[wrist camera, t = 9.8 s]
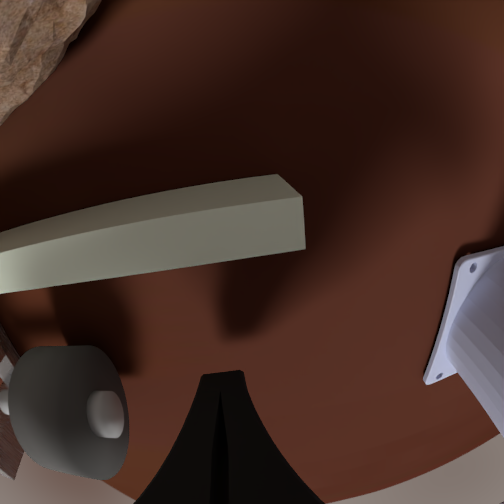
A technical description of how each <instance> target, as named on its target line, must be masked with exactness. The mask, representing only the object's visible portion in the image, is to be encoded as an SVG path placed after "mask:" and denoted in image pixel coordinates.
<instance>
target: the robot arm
mask: <svg viewBox="0 0 504 504" xmlns="http://www.w3.org/2000/svg"><path fill="white" fill-rule="evenodd" d="M457 372H458V373H459V375H460V376H461V377H462V379H463V380H464V381H465V383H466V384H467V385H468V387H469V388H470V390H471V391H472V392H473V394H474V395H475V396H476V398H477V399H478V401H479V402H480V404H481V405H482V406H483V408H484V409H485V411H486V412H487V414H488V415H489V417H490V418H491V419H492V421H493V422H494V424H495V425H496V427H497V428H498V430H499V432H500V433H501V435H502V436H503V438H504V246H501V247H498V248H494V249H490V250H486V251H482V252H478V253H474V254H470V255H466V256H463V257H461V258H460V259H459V260H458V261H457V262H456V264H455V267H454V272H453V277H452V282H451V287H450V291H449V295H448V300H447V304H446V308H445V311H444V315H443V319H442V322H441V326H440V329H439V333H438V336H437V339H436V343H435V346H434V349H433V352H432V355H431V358H430V361H429V363H428V366H427V369H426V372H425V374H424V377H423V380H424V382H425V383H426V384H427V385H429V384H432V383H434V382H437V381H439V380H441V379H444V378H446V377H448V376H450V375H452V374H455V373H457ZM134 504H325V503H324V502H323V501H321V500H320V499H319V498H318V496H317V495H316V494H315V493H314V492H313V491H312V490H311V489H310V488H309V487H308V486H307V485H306V484H305V483H304V482H303V480H302V479H301V478H300V477H299V476H298V475H297V473H296V472H295V471H294V470H293V468H292V467H291V466H290V465H289V463H288V462H287V461H286V459H285V458H284V457H283V455H282V454H281V452H280V451H279V450H278V448H277V447H276V445H275V444H274V442H273V440H272V439H271V437H270V436H269V434H268V432H267V431H266V429H265V427H264V425H263V423H262V421H261V420H260V418H259V416H258V414H257V412H256V410H255V408H254V405H253V403H252V401H251V398H250V396H249V393H248V390H247V386H246V381H245V377H244V372H243V371H241V370H236V371H228V372H220V373H211V374H203V375H202V376H201V379H200V383H199V386H198V389H197V392H196V395H195V398H194V401H193V403H192V406H191V408H190V411H189V413H188V415H187V418H186V420H185V422H184V425H183V427H182V429H181V431H180V433H179V435H178V437H177V439H176V441H175V443H174V445H173V447H172V449H171V451H170V453H169V454H168V456H167V458H166V460H165V461H164V463H163V464H162V466H161V468H160V469H159V471H158V472H157V474H156V475H155V477H154V478H153V479H152V481H151V482H150V484H149V485H148V486H147V488H146V489H145V490H144V492H143V493H142V494H141V495H140V497H139V498H138V499H137V500H136V501H135V502H134ZM500 504H504V502H502V503H500Z"/></svg>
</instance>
